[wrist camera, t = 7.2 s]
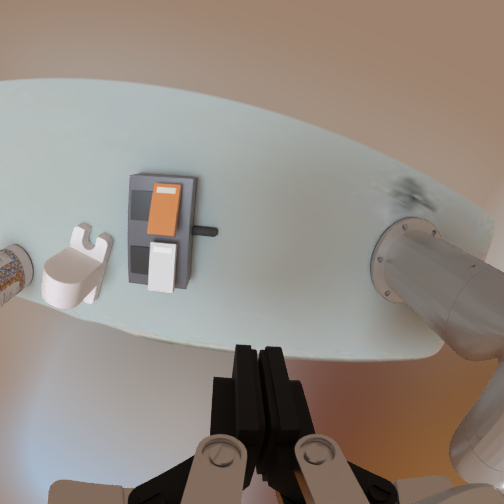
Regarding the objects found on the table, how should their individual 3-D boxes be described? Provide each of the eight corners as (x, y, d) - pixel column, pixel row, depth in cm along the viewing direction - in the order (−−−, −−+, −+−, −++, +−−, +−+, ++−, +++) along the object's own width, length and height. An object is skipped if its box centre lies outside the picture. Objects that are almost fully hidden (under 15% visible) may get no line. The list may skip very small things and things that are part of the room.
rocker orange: (182, 187, 29) (180, 184, 28) (175, 237, 29) (173, 235, 28) (156, 185, 29) (154, 182, 28) (149, 234, 28) (146, 233, 27)
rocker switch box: (223, 179, 32) (222, 181, 29) (213, 279, 36) (211, 293, 33) (140, 173, 31) (129, 175, 28) (137, 271, 35) (128, 283, 32)
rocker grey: (177, 243, 30) (175, 244, 29) (174, 290, 31) (172, 293, 30) (152, 241, 30) (150, 242, 29) (150, 288, 31) (147, 290, 30)
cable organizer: (114, 237, 34) (77, 264, 24) (97, 299, 36) (65, 337, 27) (81, 221, 33) (39, 243, 23) (67, 283, 35) (31, 317, 26)
